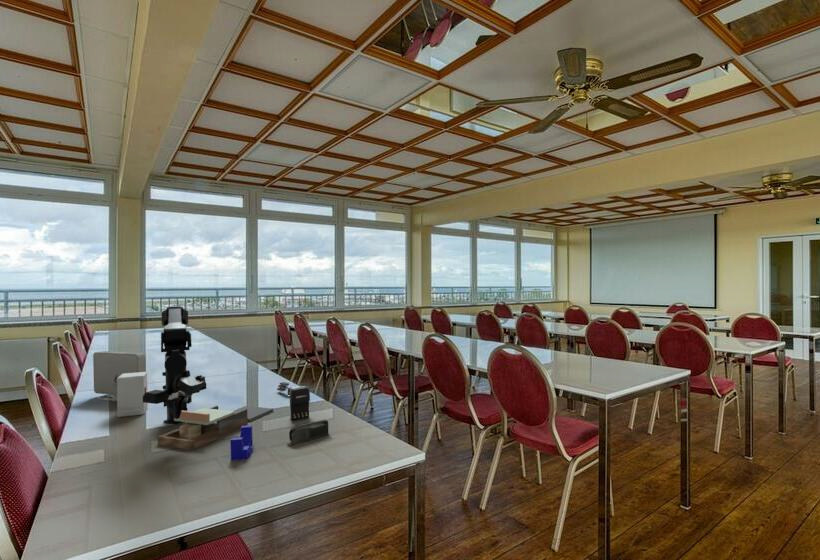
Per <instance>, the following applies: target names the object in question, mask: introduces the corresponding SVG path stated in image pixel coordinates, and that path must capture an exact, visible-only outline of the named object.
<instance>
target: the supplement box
mask: <svg viewBox="0 0 820 560" xmlns="http://www.w3.org/2000/svg"><path fill="white" fill-rule="evenodd" d="M148 388H149V387H148V371H146V372H138V373H125V374H122V375H120V376H119V377H118V378H117V401H116V402H117V408H116V409H117V417H118V418H121V417H123V418H124V417H131V416H140V415H145V414H146V412H147V410H148V409H149V403H144V402H143V395H144V394H145V393H146V392H149V389H148Z"/></svg>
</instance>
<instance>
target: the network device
mask: <svg viewBox="0 0 820 560" xmlns="http://www.w3.org/2000/svg"><path fill="white" fill-rule="evenodd" d="M92 358H93V359H92V361H93V363H92V364H93V365H92V366H93V392H94V393H95V394H99V395H100V396H98V397H97V400H99V399H101V400H100V401H110V400H112V401H113V402H117V378H118V377H119V376H120V375H122V374H125V373H138V372H147V368H146V367H147V366H146V365H147V362H146V360H147V359H146V358H147V356H146V354H145V353H144V352H137V351H135V352H133V351H132V352H131V351H130V352H129V351H111V350H108V351H107V350H103V351H96V352H94V353H93V354H92ZM110 395H111V396H113V397H111V396H110ZM103 397H104V398H103Z"/></svg>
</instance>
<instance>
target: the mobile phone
mask: <svg viewBox="0 0 820 560" xmlns="http://www.w3.org/2000/svg"><path fill="white" fill-rule="evenodd" d="M327 435H329V421H328V419H327V420H326V419H323V420H318V421H313V422H309V423H303V424H298V425H296V426H294V427H292V428H290V429H289V433H288V436H289V441H290V442H289V443H287V444H286V445H287V447H288V446H292V445H295V444H299V443H304V442H307V441H310V440H313V439H314V438H315V439H318V438H321V437H322V438H323V437H325V436H327ZM315 439H314V440H315Z"/></svg>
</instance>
